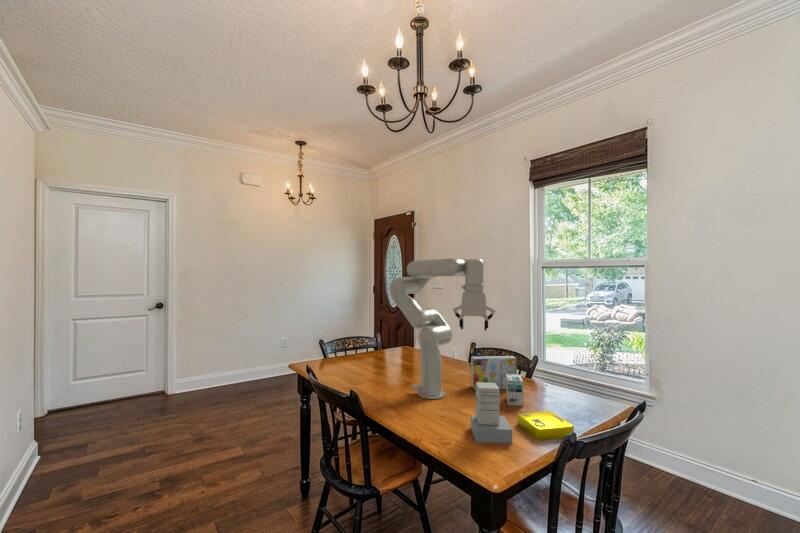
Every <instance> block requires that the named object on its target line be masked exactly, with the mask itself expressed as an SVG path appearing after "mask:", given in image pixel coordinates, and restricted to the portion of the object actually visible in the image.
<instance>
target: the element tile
mask: <svg viewBox="0 0 800 533" xmlns="http://www.w3.org/2000/svg"><path fill="white" fill-rule="evenodd" d="M516 418H517V421H516V422H517V427H519V428H520V429H522V430H523V432H525V433H526V434H527V435H529V436H530V437H531V438H532V439H534V440H536V441H541V442H543V441H552V440H553V441H554V440H562V439H563V438H564V437H565V436H566V435H567V434H570V433H574V434H575V432H574V428H575V426H574V425H573V423H571V422H569V421H568V420H566V419H565V418H563V417H561V416H560V415H559V414H557V413H555V412H554V411H551V410H544V411H532V412H531V411H530V412H522V413H521V412H520V413H517V416H516ZM564 439H565V438H564ZM564 439H563V440H564Z"/></svg>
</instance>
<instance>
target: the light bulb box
mask: <svg viewBox="0 0 800 533" xmlns="http://www.w3.org/2000/svg"><path fill="white" fill-rule="evenodd" d="M524 381H525V380H524V379H523V377H522V374H517V375H515V374H506V389H505V390H506V400H507V401H506V402H507V406H515V407H516V406H517V407H518V406H519V407H524V402H525V401H524V396H525V395H524V389H525V388H524Z"/></svg>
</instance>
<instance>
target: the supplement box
mask: <svg viewBox="0 0 800 533" xmlns="http://www.w3.org/2000/svg"><path fill="white" fill-rule="evenodd" d="M500 390H501V389H499V387H498V386H497V385H496V383H482V382H476V389H475V416H476V418H477V420H478V423H479V424H484V425H499V416H500V405H501V404H500V399H501V397H500V395H501V393H500Z"/></svg>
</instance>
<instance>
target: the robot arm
mask: <svg viewBox="0 0 800 533" xmlns="http://www.w3.org/2000/svg"><path fill="white" fill-rule="evenodd" d="M484 264H485V263H484V260H483V259H481V258H480V259H479V258H475V259H474V258H469V259H468V258H456V257H455V258H440V259H435V258H433V259H421V260H419V259H418V260H412V261H411V262H409V263H408V264H407V266H406V273H407V274H408V276H403V277H402V276H400V277H395V279H393V280H392V281H391V282H390V284H389V294H390V298H391V299H392V301H393V302H394V304H395V305H396V306H397V307H398V308H399V309H400V311H401V312H402V314H403V316H404V317H405V318H406V320H407V321H408V322H409V324H410V325H411V326H412V328H414V329H416V330H420V331H419V333H418V341H419V342H418V344H419V348H420V383H419V384H414V383H413V384H412V383H411V389H412V390H413V391H417V396H418V397H419V398H421V399H426V400H427V399H428V400H438V399H441V398H444V397H445V396H446V392H445V391H444V390H443V389H442V386H443V385H442V383H443V382H442V354H441V350H440V348H439V346H444V345H447V344H449V343H451V341H452V340H453V331H452V329H451V327H450V326H449V324H448V323H447V321H445V319H444V318H443V316H442V315H441V314H440V313H439V312H438V311H437V310H436V309H434V308H431V307H428V308H427V307H425V308H424V307H423V308H422V307H421V306H420V305H419V304H418V302H417V301H416V299H414V298H413V297H411V296H410V295H411V294H412V295H413V294H419V293H420V292H422V291H423V289H424V288H425V287H426V285H427V284H428V283H429V282H430V280H431V279H436V278H437V277H464V278H465V279H464V281H465V282H464V284H463V285H461V289H463V290H464V291H462V295H461V304H460V305H458V306H455V307H453V309H452V311H453V313H454V314H455V317H457V318H458V321H459V328H460V330H463V329H464V317H483V318H484V331H485V332H486V331H487V329H489V321H490V320H491V319H492V318H493V317H494V314H495V313H496V310H495V309H494V308H492V307H490V306H488V305H487V297H486V296H487V295H486V292H485V291H484V269H485V268H484ZM459 310H461V313H459V312H458V311H459ZM487 311H489V312H490V314H489V315H487Z"/></svg>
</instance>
